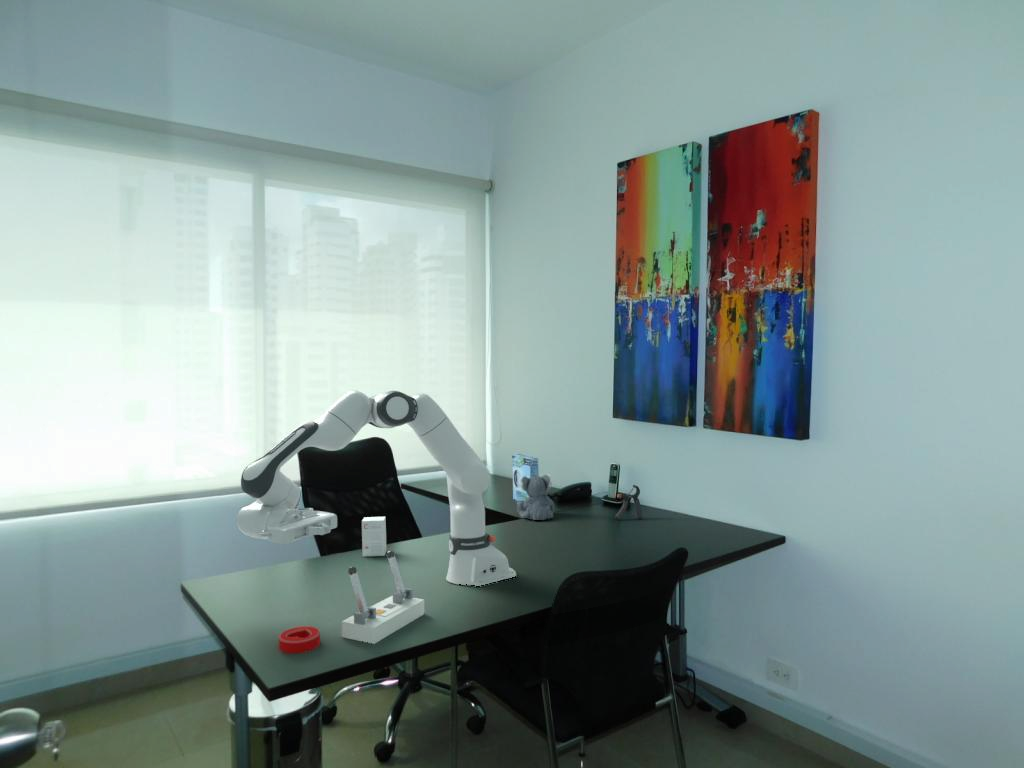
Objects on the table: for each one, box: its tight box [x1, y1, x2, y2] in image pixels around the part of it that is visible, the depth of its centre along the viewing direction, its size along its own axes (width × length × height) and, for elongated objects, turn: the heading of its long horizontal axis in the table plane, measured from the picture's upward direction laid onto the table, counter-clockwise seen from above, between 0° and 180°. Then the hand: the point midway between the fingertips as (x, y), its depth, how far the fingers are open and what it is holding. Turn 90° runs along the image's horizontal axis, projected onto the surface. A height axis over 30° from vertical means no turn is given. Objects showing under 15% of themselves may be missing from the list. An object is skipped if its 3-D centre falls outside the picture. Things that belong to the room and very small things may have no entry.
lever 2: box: [386, 550, 409, 599], centre depth 184 cm, size 3×2×13 cm
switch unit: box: [341, 587, 425, 645], centre depth 177 cm, size 22×10×6 cm, turn 153°
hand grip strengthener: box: [614, 484, 643, 520], centre depth 294 cm, size 2×12×15 cm, turn 101°
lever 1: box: [347, 566, 372, 619], centre depth 170 cm, size 3×2×13 cm
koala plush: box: [516, 473, 556, 521], centre depth 300 cm, size 17×18×20 cm
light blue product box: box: [511, 453, 540, 502], centre depth 334 cm, size 19×5×23 cm, turn 27°
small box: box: [361, 516, 387, 557], centre depth 244 cm, size 8×6×13 cm
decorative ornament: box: [278, 626, 321, 654], centre depth 164 cm, size 10×10×3 cm
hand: (326, 530), depth 174 cm, fingers closed
